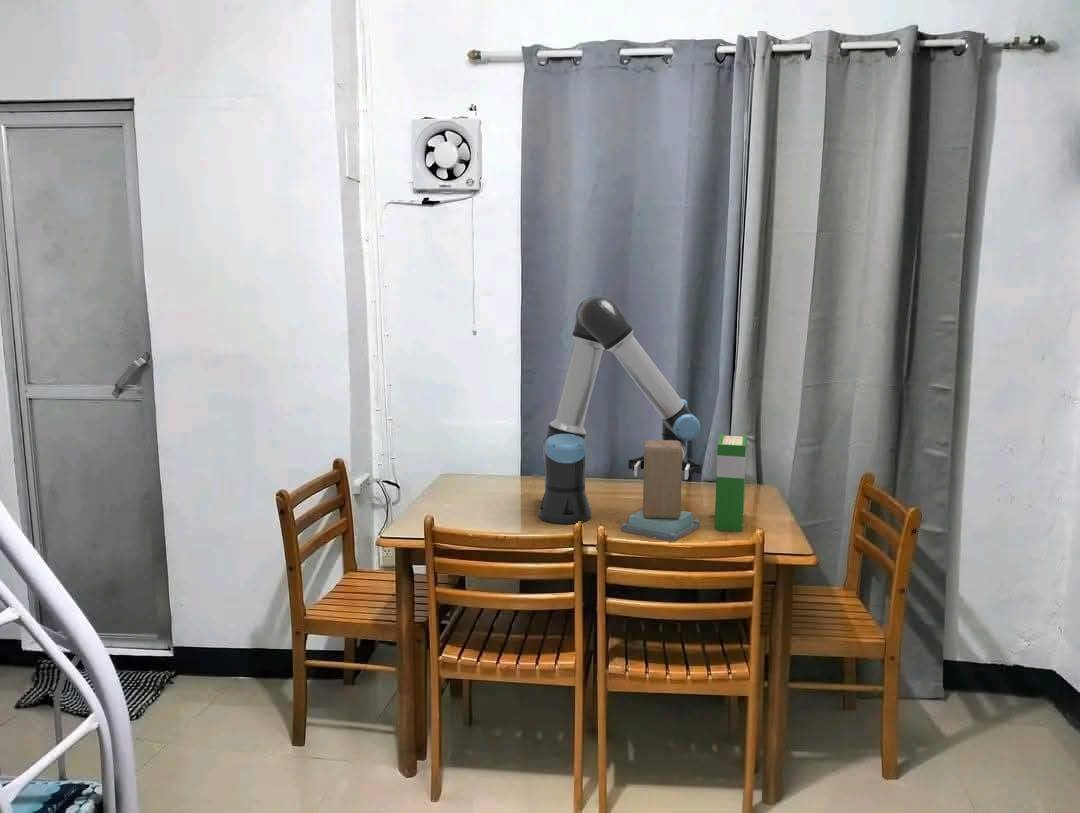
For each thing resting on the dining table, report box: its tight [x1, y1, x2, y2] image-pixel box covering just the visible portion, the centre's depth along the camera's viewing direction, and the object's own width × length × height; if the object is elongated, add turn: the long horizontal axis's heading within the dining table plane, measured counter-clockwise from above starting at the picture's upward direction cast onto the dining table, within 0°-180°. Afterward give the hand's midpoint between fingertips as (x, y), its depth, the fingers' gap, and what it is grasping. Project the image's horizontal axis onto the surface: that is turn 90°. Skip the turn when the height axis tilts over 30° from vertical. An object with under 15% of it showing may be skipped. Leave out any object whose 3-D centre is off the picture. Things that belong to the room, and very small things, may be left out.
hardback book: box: [714, 432, 748, 533], centre depth 226 cm, size 18×7×24 cm, turn 165°
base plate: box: [620, 508, 701, 542], centre depth 221 cm, size 16×16×4 cm
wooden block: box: [642, 439, 683, 519], centre depth 219 cm, size 10×10×20 cm
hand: (660, 473), depth 215 cm, fingers open, 13 cm apart
